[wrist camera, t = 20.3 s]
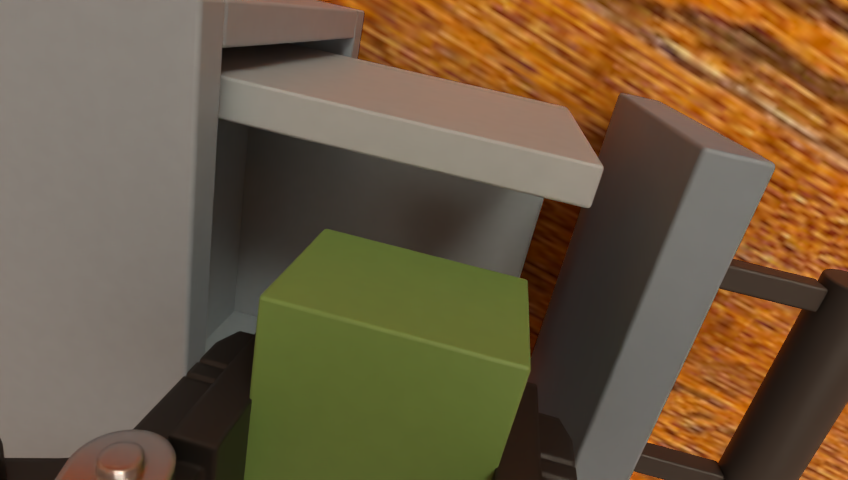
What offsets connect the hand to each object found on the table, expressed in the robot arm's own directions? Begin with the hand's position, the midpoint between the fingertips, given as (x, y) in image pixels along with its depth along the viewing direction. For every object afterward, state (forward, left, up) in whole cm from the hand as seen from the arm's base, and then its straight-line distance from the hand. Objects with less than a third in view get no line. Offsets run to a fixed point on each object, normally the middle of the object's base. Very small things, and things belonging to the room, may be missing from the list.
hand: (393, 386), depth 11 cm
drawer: (-1, -1, -8) cm, 8 cm away
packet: (0, 0, 0) cm, 0 cm away
